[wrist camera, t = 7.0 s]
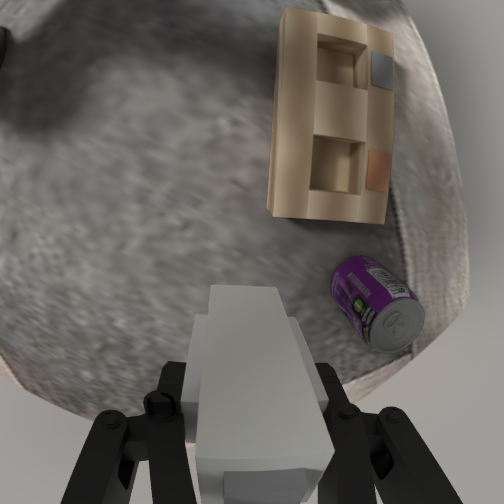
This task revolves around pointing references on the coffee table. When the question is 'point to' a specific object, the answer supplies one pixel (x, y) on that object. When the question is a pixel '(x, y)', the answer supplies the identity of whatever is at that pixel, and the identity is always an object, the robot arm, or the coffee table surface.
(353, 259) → the beverage can
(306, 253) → the coffee table surface
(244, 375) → the plug
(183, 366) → the robot arm
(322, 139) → the socket block
